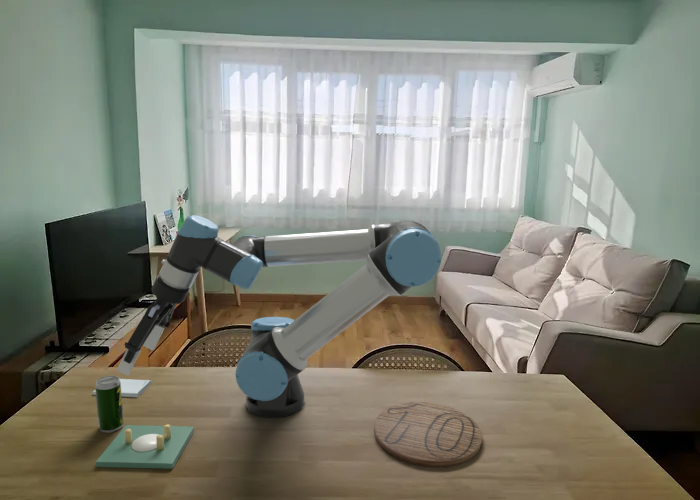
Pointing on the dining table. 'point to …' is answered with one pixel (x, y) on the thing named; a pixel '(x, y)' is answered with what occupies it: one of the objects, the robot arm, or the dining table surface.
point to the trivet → (428, 434)
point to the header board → (146, 447)
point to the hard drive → (132, 387)
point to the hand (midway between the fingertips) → (136, 359)
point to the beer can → (109, 403)
